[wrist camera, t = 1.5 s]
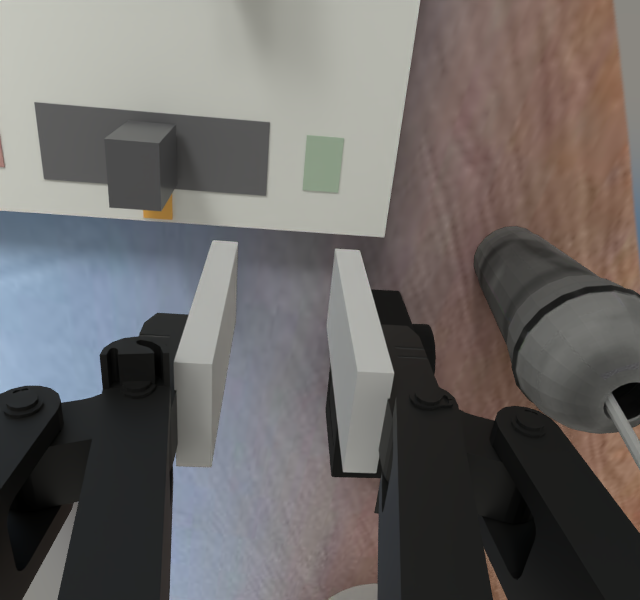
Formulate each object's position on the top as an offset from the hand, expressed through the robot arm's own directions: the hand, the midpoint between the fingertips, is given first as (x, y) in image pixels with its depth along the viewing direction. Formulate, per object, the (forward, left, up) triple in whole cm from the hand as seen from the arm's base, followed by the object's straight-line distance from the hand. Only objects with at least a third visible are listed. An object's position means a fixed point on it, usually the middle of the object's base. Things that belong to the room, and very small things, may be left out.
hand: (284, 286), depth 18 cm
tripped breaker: (0, -7, -15) cm, 16 cm away
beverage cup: (+6, +15, -19) cm, 25 cm away
